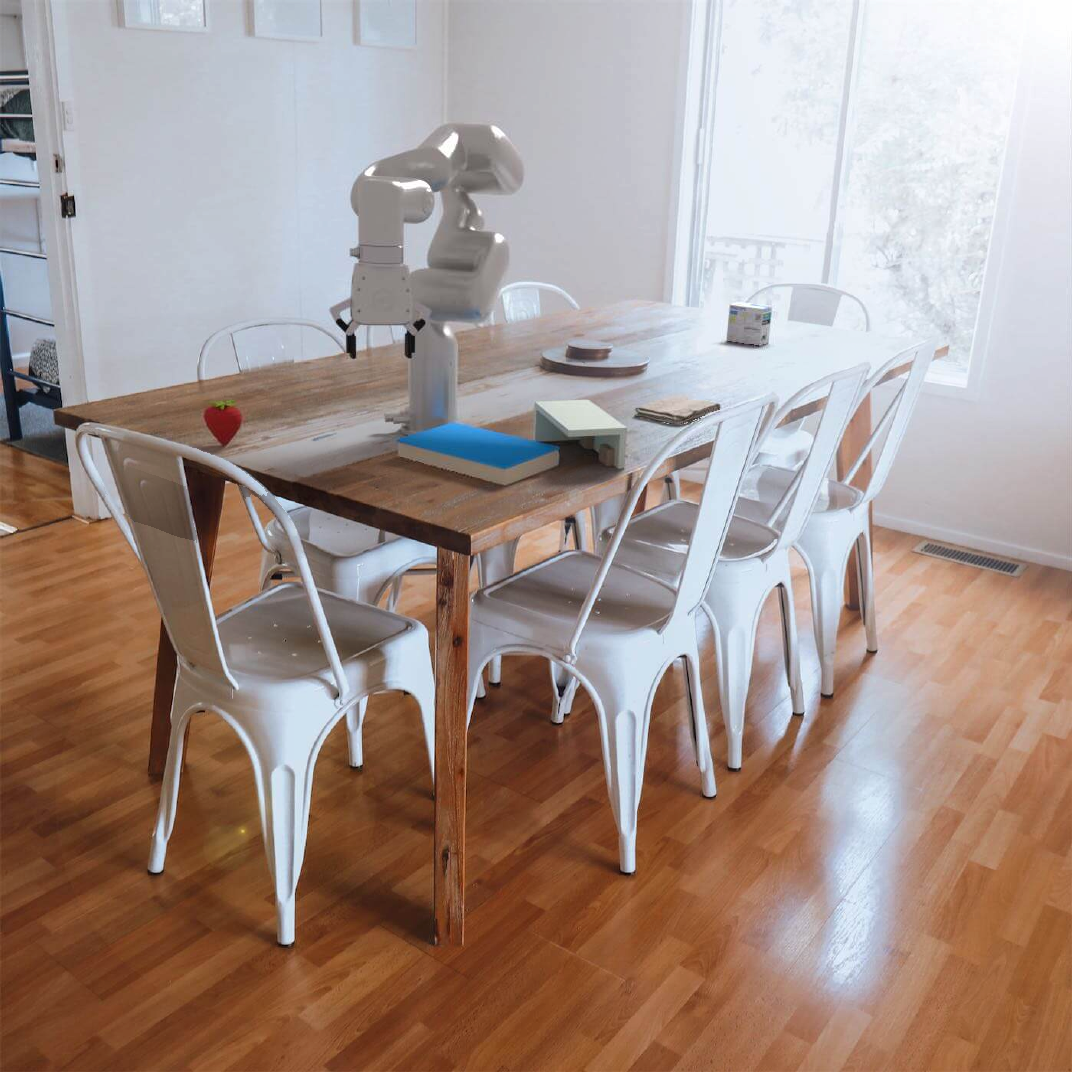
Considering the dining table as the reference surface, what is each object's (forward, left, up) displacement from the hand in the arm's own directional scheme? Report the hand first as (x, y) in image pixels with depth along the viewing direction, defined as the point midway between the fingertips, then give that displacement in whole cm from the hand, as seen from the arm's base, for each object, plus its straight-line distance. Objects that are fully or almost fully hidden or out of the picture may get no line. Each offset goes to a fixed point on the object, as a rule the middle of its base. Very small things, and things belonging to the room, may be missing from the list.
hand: (380, 357), depth 195 cm
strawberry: (-26, +17, -20) cm, 37 cm away
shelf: (+37, 0, -19) cm, 42 cm away
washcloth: (+68, +25, -20) cm, 76 cm away
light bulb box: (+123, +98, -20) cm, 158 cm away
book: (+18, -1, -20) cm, 27 cm away
